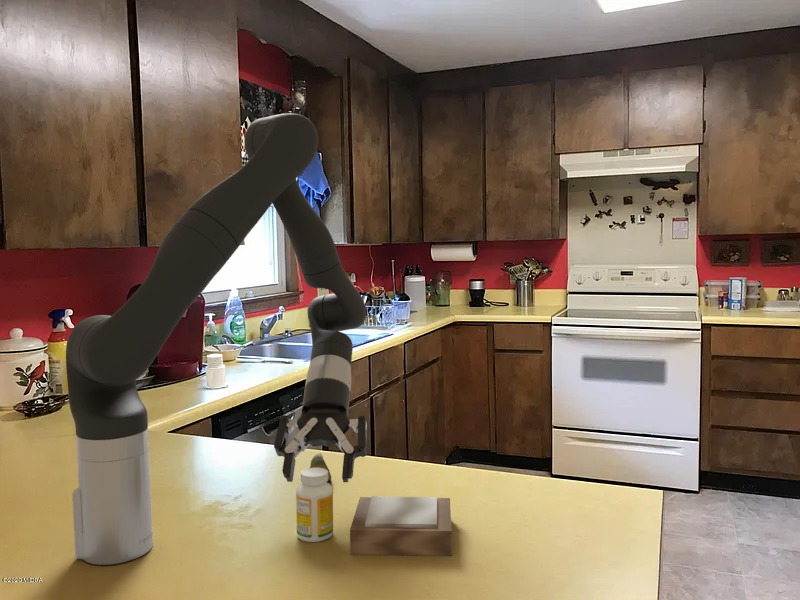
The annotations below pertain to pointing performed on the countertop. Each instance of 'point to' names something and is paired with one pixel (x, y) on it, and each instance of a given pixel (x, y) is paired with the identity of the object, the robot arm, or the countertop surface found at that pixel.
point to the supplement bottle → (314, 506)
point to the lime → (319, 464)
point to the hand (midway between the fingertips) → (317, 480)
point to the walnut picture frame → (402, 526)
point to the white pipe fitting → (215, 371)
